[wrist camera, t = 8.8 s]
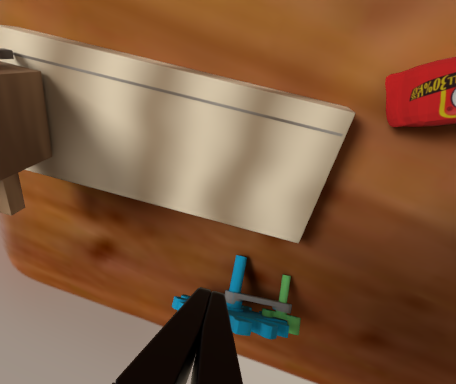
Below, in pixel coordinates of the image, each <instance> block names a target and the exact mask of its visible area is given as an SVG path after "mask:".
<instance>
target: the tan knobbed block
mask: <svg viewBox="0 0 456 384" xmlns="http://www.w3.org/2000/svg"><path fill="white" fill-rule="evenodd" d="M0 59H14V57H13V51H12V50H9V49H5V48H0ZM51 157H52V151H51V143H50V136H49V128H48V121H47V113H46V106H45V98H44V91H43V83H42V76H41V71H38V70H34V69H30V68H26V67H22V66H18V65H14V64H10V63H6V62H2V61H0V213H4V214H7V215H11V216H12V215H13V214H15V213H17V212H18V211H20V210H22V209H23V208H25V204H24V199H23V194H22V190H21V185H20V180H19V175H18V172H20V171H22V170H25V169H27V168H29V167H31V166H33V165H36V164H38V163H40V162H42V161H44V160H46V159H49V158H51Z"/></svg>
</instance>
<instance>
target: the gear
mask: <svg viewBox="0 0 456 384" xmlns="http://www.w3.org/2000/svg"><path fill="white" fill-rule="evenodd" d="M246 261H247V257H243V256H238V255H236V259H235V264H234V269H233V274H232V278H231V283H230V288H229V290H225V299H226V303H227V308H228V313H229V318H230V323H231V328H232V332H233V333H235V334H239V335H246V336H250V334H251V332H254V333H256V334H259V335H260V336H262V337H265V338H268V339H276V337H277V335H278V336H281V337H286V338H288V333H290V334H294V335H299V328H300V320H301V318H299V317H296V316H292V315H287V313H291V308H292V305H291V304H288V303H287V299H288V292H289V285H290V278H291V276H287V275H283V276H282V282H281V289H280V296H279V301H276V300H272V299H267V298H263V297H258V296H253V295H249V294H244V293H241V288H242V282H243V277H244V272H245V267H246ZM189 298H190V296H188V295H182V296H181V297H177V296H174V300H173V304H172V307H173V308H174V309H176V310H179V309H180V308H181V307H182V305H183V304H184V303H185V302H186V301H187V300H188V299H189ZM243 300H246V301H250V302H255V303H260V304H264V305H269V306H273V307H272V309H274V310H276V311H272V310H269V309H265V308H262V311H259V312H254V311H251V310H252V308H251V307H248V306H244V305H242V301H243ZM283 319H284V320H283ZM286 320H288V323H287V321H286Z"/></svg>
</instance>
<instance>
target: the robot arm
mask: <svg viewBox="0 0 456 384" xmlns="http://www.w3.org/2000/svg"><path fill="white" fill-rule="evenodd" d="M194 359H195V361H194ZM193 363H194V366H193ZM192 366H193V372H192V378H191V384H243V382H242V377H241V372H240V367H239V363H238V358H237V353H236V348H235V343H234V338H233V333H232V328H231V323H230V318H229V313H228V308H227V303H226V299H225V295H224V294H223V293H220V292H217V291H212V292H211V291H210V290H209V289H205V288H201V287H200V288H198V289H197V290H196V291H195V292H194V293H193V294H192V295H191V296H190V298H189V299H188V300H187V301H186V302H185V303H184V304H183V305H182V307H181V308H180V309H179V310H178V311H177V312H176V313H175V314H174V315H173V317H172V318H171V319H170V320H169V321H168V322H167V323H166V324H165V325H164V327H163V328H162V329H161V330H160V331H159V332H158V334H156V336H155V337H154V338H153V339H152V340H151V341H150V342H149V343H148V345H147V346H146V347H145V348H144V349H143V350H142V351H141V352H140V353H139V355H138V356H137V357H136V358H135V359H134V360H133V361H132V362H131V363H130V365H129V366H128V367H127V368H126V369H125V370H124V371H123V372H122V374H121V375H120V376H119V377H118V378H117V379H116V383H112V384H186V382H187V379H188V377H189V374H190V371H191V368H192Z"/></svg>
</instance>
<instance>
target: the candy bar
mask: <svg viewBox="0 0 456 384" xmlns="http://www.w3.org/2000/svg"><path fill="white" fill-rule="evenodd" d="M385 85H386V115H387V120H388V123H389V125H390V126H392V127H400V126H408V127H423V126H439V125H447V124H456V57H452V58H447V59H442V60H438V61H434V62H431V63H427V64H423V65H420V66H417V67H414V68H411V69H409V70H406V71H403V72H400V73H395V74H391V75H389V76H388V77H386V82H385Z"/></svg>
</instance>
